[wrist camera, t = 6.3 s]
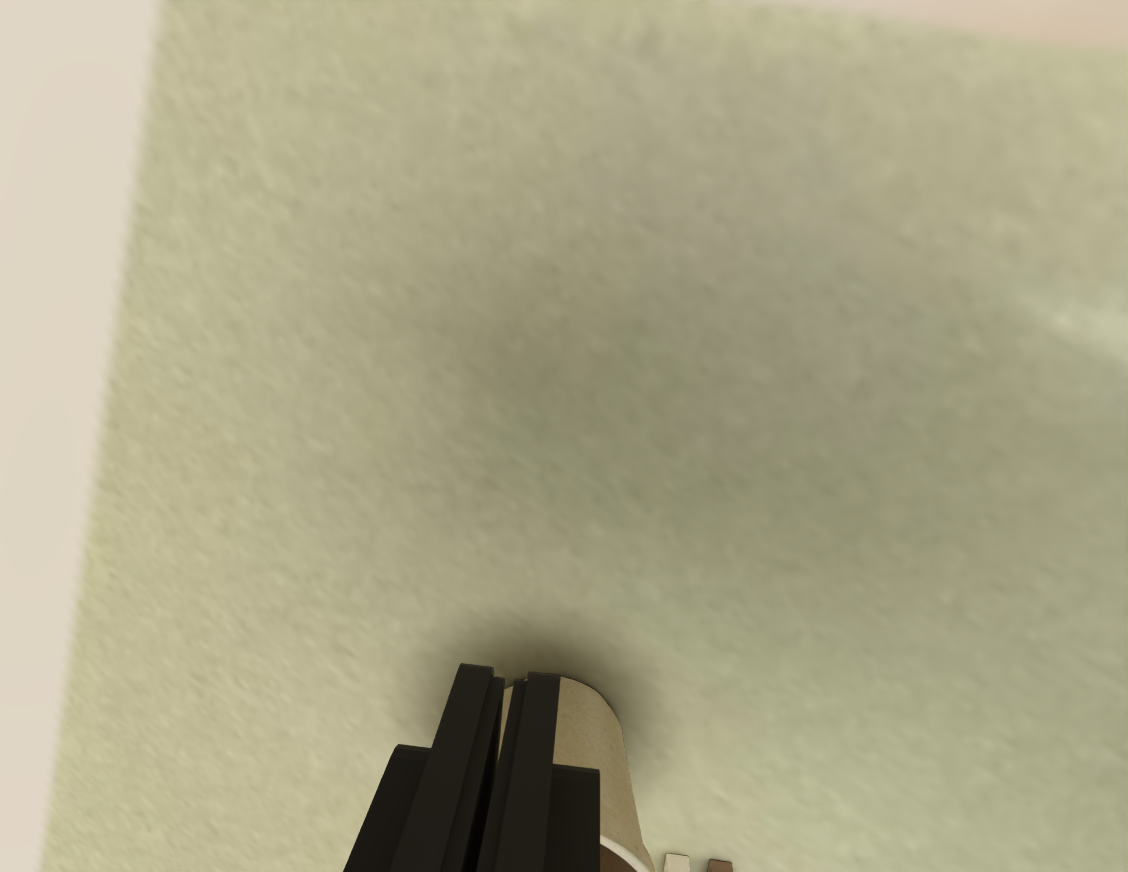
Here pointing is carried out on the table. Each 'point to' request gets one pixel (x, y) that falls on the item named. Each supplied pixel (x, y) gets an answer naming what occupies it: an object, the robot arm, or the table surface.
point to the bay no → (719, 866)
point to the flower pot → (598, 743)
